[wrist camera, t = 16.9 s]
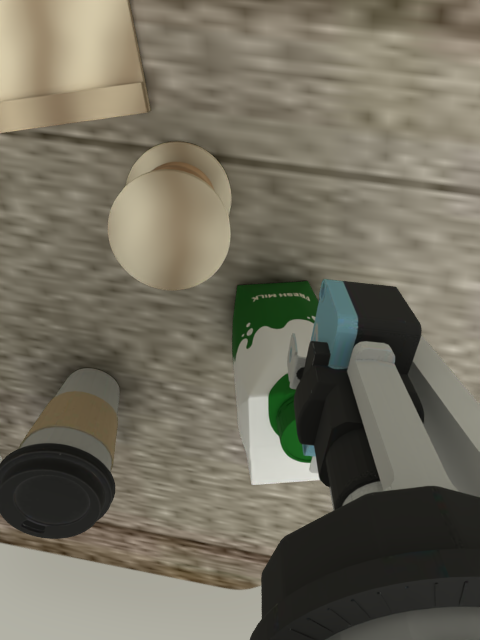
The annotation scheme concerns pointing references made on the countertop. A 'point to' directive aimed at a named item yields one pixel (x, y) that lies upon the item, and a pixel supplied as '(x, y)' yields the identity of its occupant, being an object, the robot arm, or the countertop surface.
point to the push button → (371, 490)
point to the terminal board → (68, 63)
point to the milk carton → (270, 376)
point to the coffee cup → (65, 461)
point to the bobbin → (172, 217)
